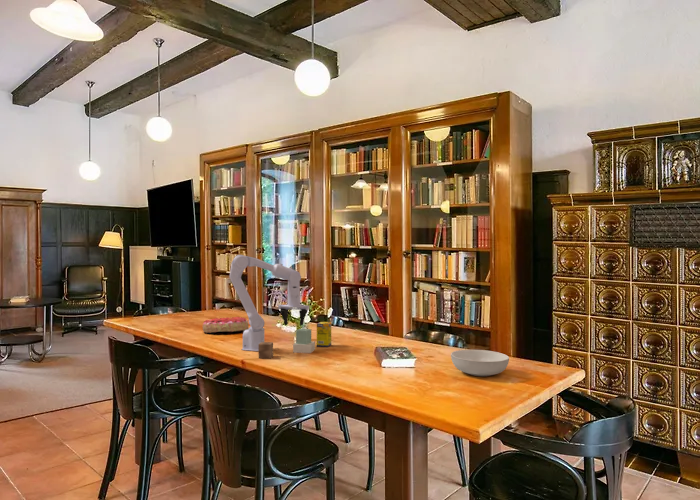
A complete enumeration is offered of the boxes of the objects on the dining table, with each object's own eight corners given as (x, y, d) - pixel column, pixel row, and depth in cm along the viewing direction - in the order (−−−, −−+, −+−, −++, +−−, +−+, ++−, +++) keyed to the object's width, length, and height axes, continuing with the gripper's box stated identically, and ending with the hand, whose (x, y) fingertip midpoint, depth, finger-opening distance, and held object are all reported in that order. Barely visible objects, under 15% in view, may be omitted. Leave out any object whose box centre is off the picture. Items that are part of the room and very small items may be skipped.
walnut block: (258, 358, 210) (258, 344, 210) (261, 356, 215) (261, 342, 215) (270, 358, 210) (270, 344, 210) (273, 356, 215) (273, 342, 215)
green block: (296, 343, 224) (296, 330, 224) (301, 341, 228) (301, 328, 228) (306, 344, 222) (306, 331, 222) (311, 342, 226) (311, 329, 226)
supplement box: (328, 347, 234) (328, 323, 234) (316, 346, 235) (316, 323, 235) (331, 344, 240) (331, 322, 240) (319, 344, 241) (319, 321, 241)
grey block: (293, 353, 222) (293, 344, 222) (297, 349, 230) (297, 341, 230) (310, 354, 221) (310, 344, 221) (314, 350, 229) (314, 341, 229)
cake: (235, 334, 263) (234, 318, 264) (193, 334, 270) (192, 319, 270) (256, 329, 287) (255, 315, 288) (217, 330, 294) (216, 316, 294)
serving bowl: (500, 383, 171) (500, 363, 171) (442, 375, 182) (442, 356, 182) (515, 371, 189) (515, 352, 189) (461, 364, 200) (461, 347, 200)
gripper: (275, 296, 231) (275, 325, 232) (305, 297, 228) (305, 326, 228) (281, 294, 238) (281, 323, 238) (310, 295, 235) (310, 324, 235)
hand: (293, 325), depth 234 cm, fingers open, 7 cm apart
